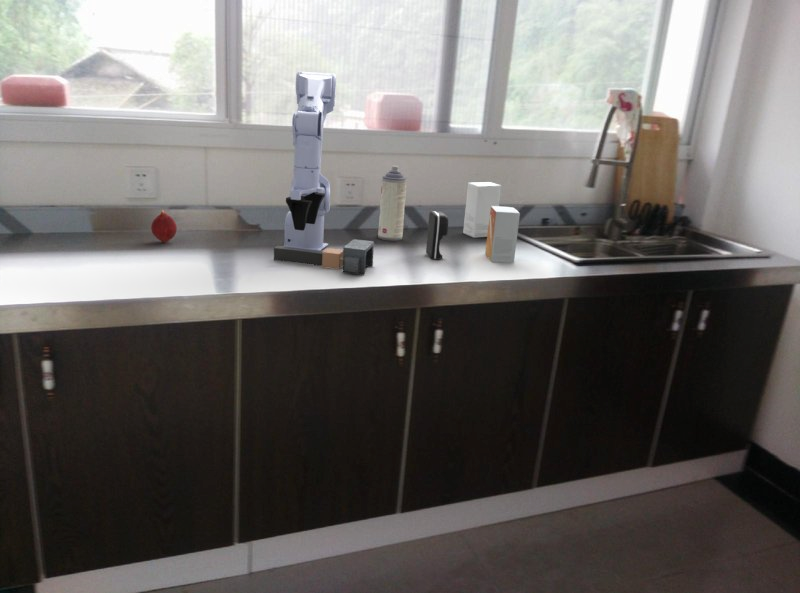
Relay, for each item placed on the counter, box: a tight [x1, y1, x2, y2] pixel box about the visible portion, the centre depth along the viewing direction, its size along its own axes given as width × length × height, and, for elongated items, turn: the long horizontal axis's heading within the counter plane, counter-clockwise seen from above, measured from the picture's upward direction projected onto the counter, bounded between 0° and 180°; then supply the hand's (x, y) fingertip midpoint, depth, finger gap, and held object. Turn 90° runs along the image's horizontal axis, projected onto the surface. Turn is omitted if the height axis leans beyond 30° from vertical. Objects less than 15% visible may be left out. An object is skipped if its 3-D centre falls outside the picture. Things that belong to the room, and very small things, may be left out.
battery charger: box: [425, 210, 449, 260], centre depth 163 cm, size 7×4×11 cm, turn 11°
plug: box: [273, 245, 343, 270], centre depth 150 cm, size 17×4×4 cm, turn 79°
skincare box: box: [462, 181, 502, 238], centre depth 191 cm, size 8×7×16 cm
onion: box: [150, 209, 178, 244], centre depth 157 cm, size 6×6×8 cm
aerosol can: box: [377, 165, 407, 242], centre depth 178 cm, size 7×7×20 cm
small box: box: [484, 205, 521, 264], centre depth 166 cm, size 8×6×13 cm
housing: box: [341, 238, 375, 276], centre depth 146 cm, size 5×11×6 cm, turn 169°
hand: (305, 226), depth 148 cm, fingers open, 7 cm apart
